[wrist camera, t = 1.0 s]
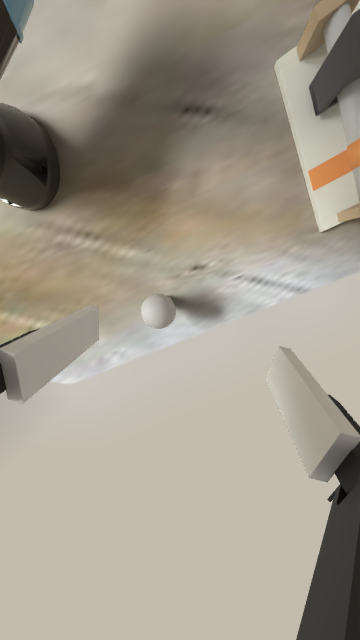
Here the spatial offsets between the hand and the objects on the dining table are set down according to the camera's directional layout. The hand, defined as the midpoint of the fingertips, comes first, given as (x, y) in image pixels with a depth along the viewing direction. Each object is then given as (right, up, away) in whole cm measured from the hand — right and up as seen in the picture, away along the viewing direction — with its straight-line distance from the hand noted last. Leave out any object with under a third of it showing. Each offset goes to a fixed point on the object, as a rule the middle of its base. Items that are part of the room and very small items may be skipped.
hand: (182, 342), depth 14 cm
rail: (+23, +29, +15) cm, 40 cm away
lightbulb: (-3, +6, +27) cm, 28 cm away
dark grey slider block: (+20, +33, +12) cm, 40 cm away
